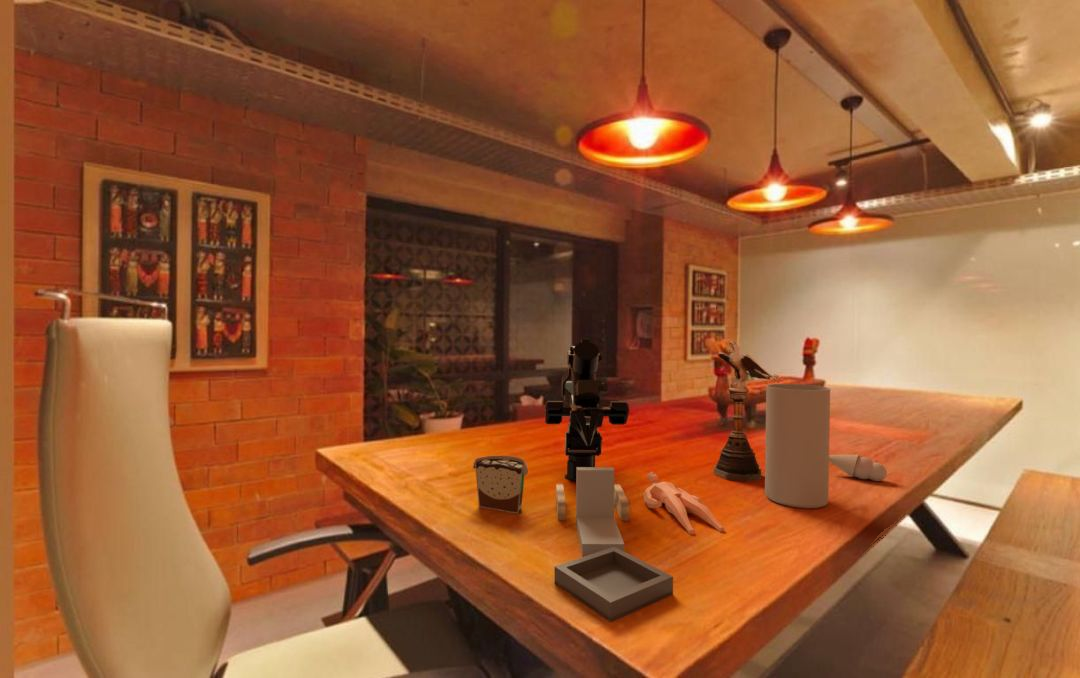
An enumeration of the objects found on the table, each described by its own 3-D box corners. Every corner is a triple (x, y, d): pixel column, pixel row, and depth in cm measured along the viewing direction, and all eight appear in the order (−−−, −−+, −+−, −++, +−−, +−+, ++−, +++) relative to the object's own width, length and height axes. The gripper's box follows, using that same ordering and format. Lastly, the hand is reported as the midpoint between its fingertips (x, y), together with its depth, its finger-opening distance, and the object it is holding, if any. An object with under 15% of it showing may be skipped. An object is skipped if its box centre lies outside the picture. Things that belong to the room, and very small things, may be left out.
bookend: (576, 523, 98) (576, 467, 97) (612, 524, 98) (612, 467, 97) (582, 555, 84) (582, 490, 84) (624, 556, 84) (624, 490, 84)
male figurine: (681, 519, 92) (628, 470, 116) (680, 545, 92) (627, 491, 117) (734, 515, 94) (671, 467, 118) (732, 540, 95) (670, 488, 119)
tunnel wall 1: (555, 499, 111) (556, 483, 111) (562, 499, 111) (562, 483, 111) (557, 520, 99) (558, 502, 99) (565, 520, 99) (565, 502, 99)
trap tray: (614, 561, 82) (614, 546, 81) (672, 594, 72) (673, 576, 72) (554, 583, 75) (554, 566, 75) (610, 621, 65) (610, 602, 65)
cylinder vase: (834, 499, 112) (836, 387, 112) (819, 514, 103) (821, 391, 103) (775, 487, 121) (777, 382, 120) (756, 499, 112) (757, 387, 111)
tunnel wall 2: (612, 499, 111) (612, 484, 111) (619, 499, 111) (619, 484, 111) (621, 520, 99) (621, 502, 99) (629, 520, 99) (629, 502, 99)
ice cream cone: (816, 470, 135) (883, 491, 126) (815, 459, 131) (884, 480, 121) (823, 450, 137) (889, 469, 128) (822, 439, 133) (890, 458, 124)
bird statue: (749, 463, 142) (750, 338, 141) (786, 476, 129) (788, 340, 129) (700, 469, 136) (701, 339, 135) (734, 483, 124) (736, 340, 123)
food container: (537, 505, 108) (538, 458, 107) (524, 515, 102) (525, 465, 102) (487, 497, 113) (487, 452, 112) (472, 505, 107) (472, 458, 107)
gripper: (545, 365, 114) (546, 423, 103) (628, 366, 114) (637, 424, 104) (545, 395, 122) (545, 452, 112) (622, 396, 122) (629, 452, 112)
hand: (588, 444), depth 109 cm, fingers closed
